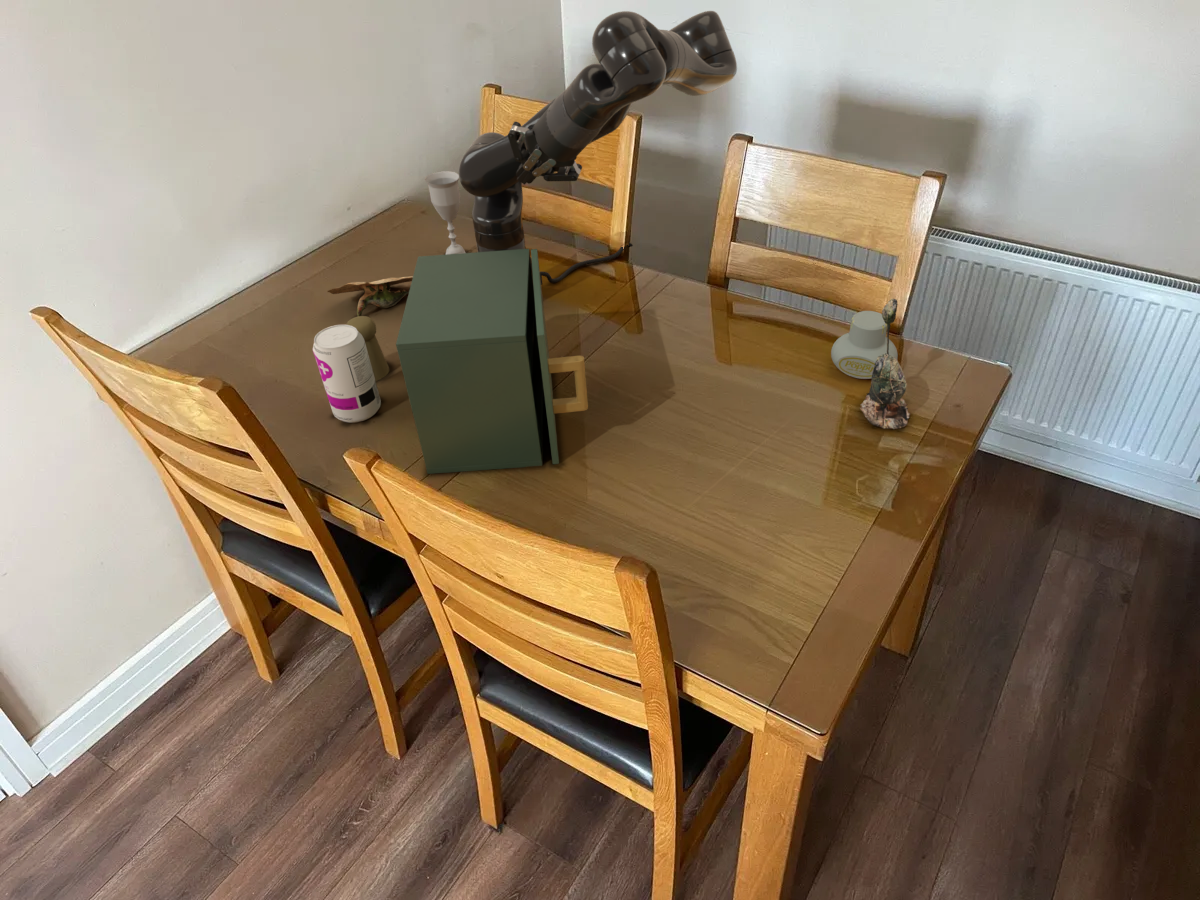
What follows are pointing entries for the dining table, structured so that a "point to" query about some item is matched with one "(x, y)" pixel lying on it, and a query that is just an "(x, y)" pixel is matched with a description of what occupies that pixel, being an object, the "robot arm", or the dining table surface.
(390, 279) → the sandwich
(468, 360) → the cupboard
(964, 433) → the dining table surface
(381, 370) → the pawn
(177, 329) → the dining table surface
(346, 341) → the supplement can
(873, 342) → the air freshener
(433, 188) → the chalice
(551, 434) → the door
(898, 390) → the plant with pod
